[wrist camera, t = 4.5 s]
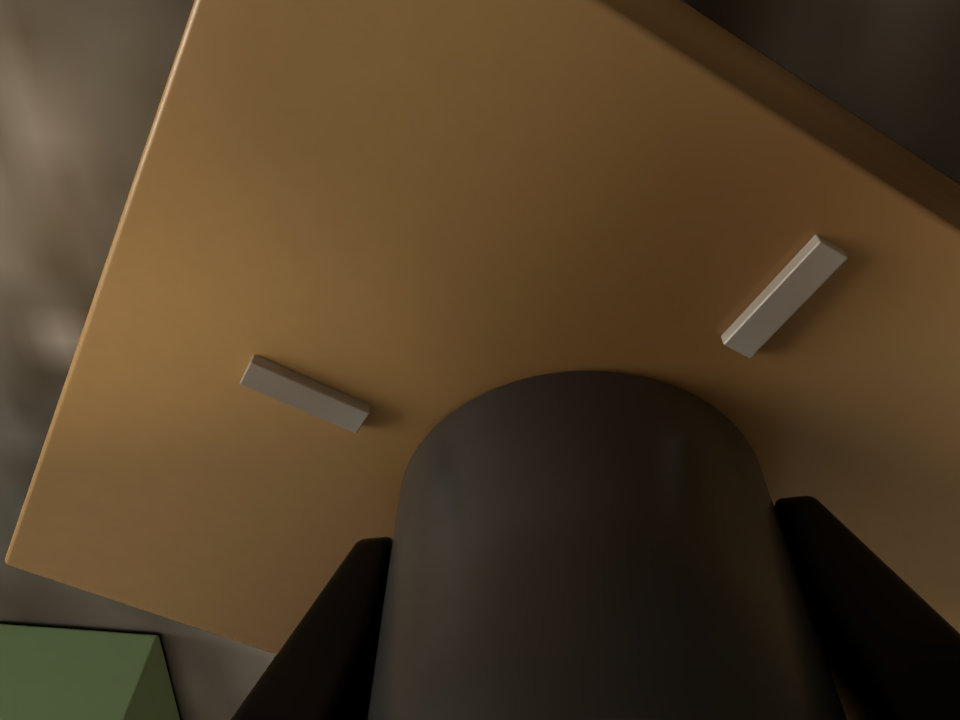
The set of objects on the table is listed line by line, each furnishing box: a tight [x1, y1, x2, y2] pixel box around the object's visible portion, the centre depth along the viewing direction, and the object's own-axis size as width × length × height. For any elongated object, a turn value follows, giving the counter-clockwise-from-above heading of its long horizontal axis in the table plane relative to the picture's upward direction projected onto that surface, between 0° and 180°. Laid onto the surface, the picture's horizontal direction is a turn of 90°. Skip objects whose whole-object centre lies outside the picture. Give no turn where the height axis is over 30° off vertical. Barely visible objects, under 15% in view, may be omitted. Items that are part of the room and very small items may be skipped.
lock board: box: [5, 0, 960, 654], centre depth 11 cm, size 12×10×3 cm
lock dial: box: [367, 370, 847, 720], centre depth 8 cm, size 4×4×4 cm
